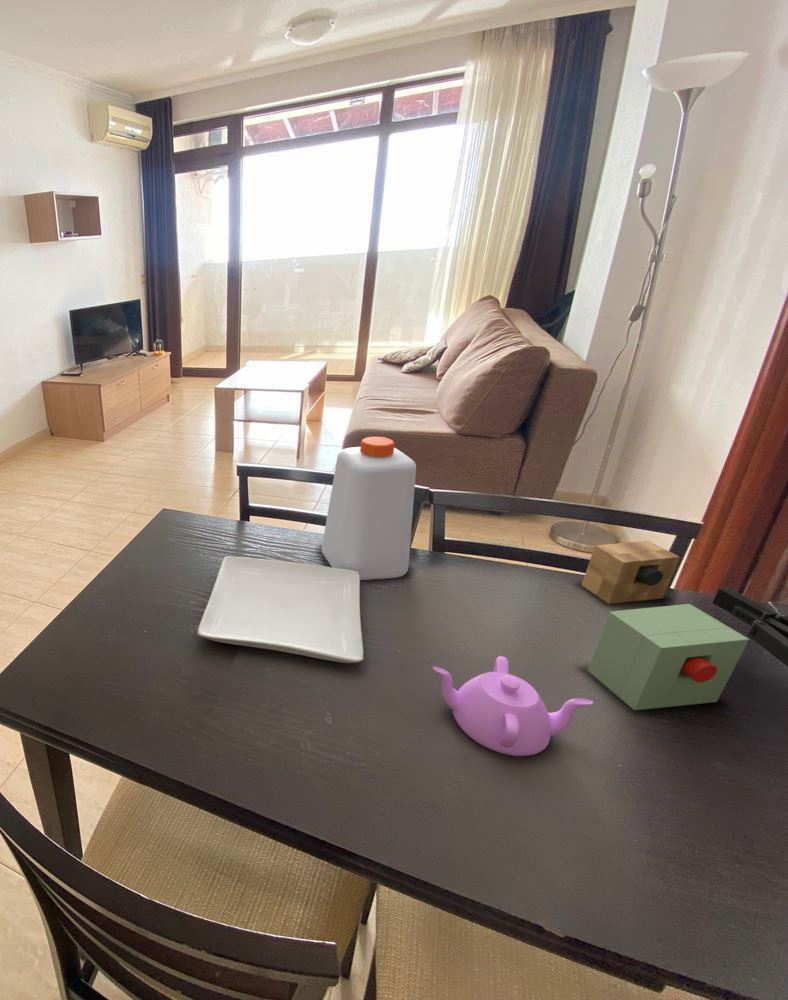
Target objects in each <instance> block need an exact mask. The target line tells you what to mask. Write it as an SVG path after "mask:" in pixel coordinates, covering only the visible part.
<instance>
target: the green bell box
mask: <svg viewBox="0 0 788 1000" xmlns="http://www.w3.org/2000/svg"><path fill="white" fill-rule="evenodd" d="M749 641H750V638H748V637H746V636H745V635H744V634H741V633H740V632H738V631H736V630H735V629H734V628H731V627H729V626H728V625H726V624H725V623H722V622H721V621H719V620H718V619H716V618H714V617H713V616H711V615H710V614H708V613H706V612H705V611H703V610H702V609H699V608H698V607H696V606H694V605H692V604H691V603H683V604H675V605H673V604H672V605H665V606H653V607H642V608H633V609H623V610H613V611H609V612H608V615H607V618H606V620H605V623H604V625H603V628H602V631H601V634H600V636H599V638H598V641H597V643H596V647H595V650H594V653H593V655H592V657H591V660H590V663H589V666H588V668H587V672H588V673H589V674H591V675H592V676H593V677H595V679H597V680H598V681H599V682H600V683H602V684H603V686H605V687H606V688H608V689H609V690H610V691H611V692H612V693H613V694H614V695H616V696H617V697H618V698H619V699H620V700H622V701H623V702H624V703H625V704H626V705H627V706H629V708H631V709H632V710H633V711H641V710H642V711H643V710H649V709H650V710H651V709H660V708H669V707H680V706H681V707H682V706H690V705H700V704H712V703H717V702H718V700H719V699H720V697H721V694H722V693H723V691H724V689H725V687H726V685H727V683H728V681H729V679H730V678H731V676H732V674H733V672H734V670H735V668H736V666H737V664H738V663H739V660H740V659H741V657H742V655H743V653H744V651H745V649H746V647H747V645H748V644H749ZM694 658H703V659H705V660H706V661H708V662H709V663H711V664H712V665H714V666H715V667H716V668H717V672H716V674H715V676H714V677H712V678H711V679H710V680H708V681H705V682H696V681H694V680H693V679H691V678H690V677H689V676H687V675H686V674H684V673H683V670H682V669H683V666H684V665H685V664H686V663H687V662H688V661H690V660H691V659H694Z"/></svg>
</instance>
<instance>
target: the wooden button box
mask: <svg viewBox="0 0 788 1000" xmlns="http://www.w3.org/2000/svg"><path fill="white" fill-rule="evenodd" d="M680 559H681V557H680V556H679V555H677V554H675V553H673V552H672V551H669V550H668V549H665V548H664V547H662V546H660V545H659V544H656V543H654V542H652V541H650V540H648V539H647V540H638V541H637V540H636V541H628V542H618V543H607V544H606V543H605V544H596V545H594V548H593V550H592V553H591V556H590V559H589V561H588V565H587V568H586V571H585V573H584V577H583V579H582V583H581V586H582V587H583V588H584V589H586V590H588V591H589V592H590V593H592V594H594V595H595V596H596V597H598V598H599V599H601V600H602V601H604V602H605V603H606V604H609V605H610V604H618V603H620V604H621V603H631V602H641V601H650V600H651V601H652V600H661V599H663V598H664V596H665V594H666V591H667V589H668V586H669V585H670V582H671V579H672V578H673V575H674V572H675V570H676V568H677V566H678V563H679V561H680ZM646 567H653V568H655V569H657V570H658V571H660V572H662V574H663V578H662V580H661V581H660V582H659V583H657V584H655V585H653V586H648V585H646V584H644V583H643V582H641V581H639V580H638V578H637V575H638V573H639V572H640V571H641V570H642V569H643V568H646Z"/></svg>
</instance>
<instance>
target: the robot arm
mask: <svg viewBox="0 0 788 1000" xmlns="http://www.w3.org/2000/svg"><path fill="white" fill-rule="evenodd" d="M712 604H713V605H715V606H717V607H718V608H720V609H722V610H724V611H726V612H727V613H728V614H729V613H730V614H731V615H732V616H733V617H735V618H736V619H738V620H741V621H742V622H744V623H745V624H747V625H748V626H750V628H749V630H748V632H747V636H748V637H749V639H751V640H753V641H754V642H755V643H756V644H757V645H759V646H760V647H762V648H763V649H765V650H766V651H767V652H768V653H769V654H771V655H772V656H773V657H775V658H776V659H777V660H778V661H779V662H781V663H783V664H784V665H785V666H786V667H788V614H784V613H778V612H776V611H774V610H773V609H770V608H768V607H767V606H765V605H763V604H761V603H759V602H756V601H755V600H753V599H751V598H749V597H747V596H746V595H743V594H741V593H740V592H738V591H736V590H734V589H732V588H730V587H722V588H720V587H719V588H718V590H717V592H716V594H715V596H714V598H713V601H712Z"/></svg>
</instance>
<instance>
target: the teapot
mask: <svg viewBox="0 0 788 1000" xmlns="http://www.w3.org/2000/svg"><path fill="white" fill-rule="evenodd" d="M509 666H510V665H509V660H508V658H507V657H505V656H498V657H497V658H496V659H495V662H494V666H493V671H488V672H485V673H481V674H479V675H477V676H475V677H473V678H471V679H469V680H468V681H466V682H465V683H464V684H463V685H462V686H461V687H460V688H459V689H458V690H457V689H456V688H454V687H453V677H452V675H451V673H450V672H449V671H447V670H446V669H444V668H442V667H439V666H432V669H433V670H434V672H436V673H437V674H438V675H439V676H440V678H441V680H442V681H441V682H442V684H441V694H442V698H443V700H444V702H445V704H446V705H447V706H448V707H449V708H450V709H452V714H453V718H454V720H455V722H456V723H457V725H458V727H460V729H461V730H462V731H463V733H465V734H466V735H467V736H468V737H469V738H471V739H472V740H473V741H475V742H476V743H478V744H479V745H481V746H483V747H484V748H487V749H489V750H492V751H494V752H497V753H499V754H503V755H507V756H513V757H526V756H533V755H536V754H538V753H541V752H542V751H544V750H545V749H546V748H547V747H548V745H549V744H550V740H551V736H555V735H559V734H561V733H563V732H565V731H566V730H567V729H568V727H569V726H570V724H571V722H572V719H573V717H574V714H575V713H576V711H577V710H578V709H579V708H582V707H585V706H590V705H593V703H594V701H593V700H591V699H587V698H579V697H576V698H572V699H569V700H567V701H565V703H564V704H563V705H562V707H561V708H560V709H559V710H558V711H554V712H549V711H548V710H547V706H545V703H544V701H543V699H542V698H541V696H540V695H539V693H538V692H537V691H536V689H535V688H534V687H533V686H532V685H531V684H530V683H528V682H527V681H526V680H524V679H523V678H520V677H518V676H516V675H514V674H511V673H509V671H510V670H509Z"/></svg>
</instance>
